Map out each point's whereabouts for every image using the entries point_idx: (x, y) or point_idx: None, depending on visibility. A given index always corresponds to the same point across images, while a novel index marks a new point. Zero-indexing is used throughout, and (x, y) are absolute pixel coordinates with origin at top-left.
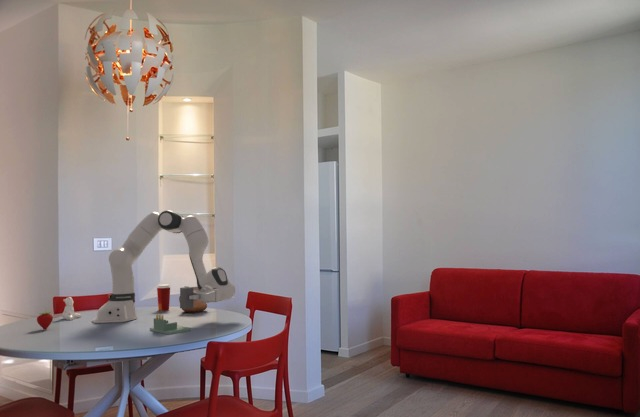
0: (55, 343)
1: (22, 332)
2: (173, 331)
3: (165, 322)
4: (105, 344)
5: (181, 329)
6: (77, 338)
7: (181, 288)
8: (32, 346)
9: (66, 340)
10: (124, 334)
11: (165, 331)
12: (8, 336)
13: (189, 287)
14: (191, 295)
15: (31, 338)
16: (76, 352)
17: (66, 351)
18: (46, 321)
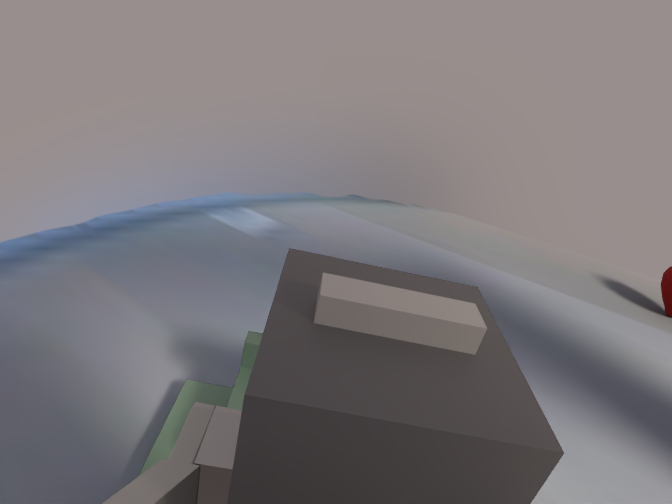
0: (418, 235)
1: (638, 285)
2: (171, 409)
3: (243, 353)
4: (290, 241)
5: (144, 470)
6: (447, 269)
7: (427, 286)
8: (421, 218)
9: (439, 253)
10: None
11: (223, 387)
12: (587, 258)
13: (392, 379)
14: (190, 435)
15: (527, 254)
16: (274, 199)
17: (305, 202)
18: (667, 286)
